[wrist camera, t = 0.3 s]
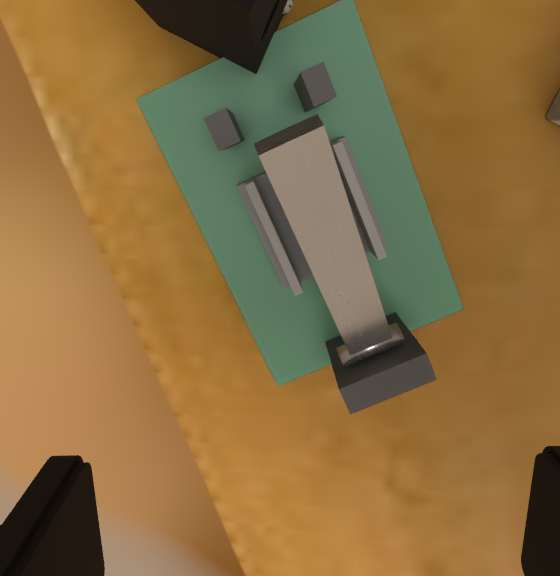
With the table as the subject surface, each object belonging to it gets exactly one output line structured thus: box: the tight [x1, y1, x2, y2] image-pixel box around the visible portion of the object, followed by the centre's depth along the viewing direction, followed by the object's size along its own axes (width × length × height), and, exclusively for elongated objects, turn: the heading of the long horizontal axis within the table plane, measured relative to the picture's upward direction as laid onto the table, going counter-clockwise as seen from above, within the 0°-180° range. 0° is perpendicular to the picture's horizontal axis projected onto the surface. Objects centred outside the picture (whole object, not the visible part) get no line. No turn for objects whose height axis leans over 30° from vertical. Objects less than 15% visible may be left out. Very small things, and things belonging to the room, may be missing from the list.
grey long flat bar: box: [254, 114, 405, 367], centre depth 28 cm, size 18×4×1 cm
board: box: [136, 0, 464, 414], centre depth 35 cm, size 24×16×9 cm, turn 24°
